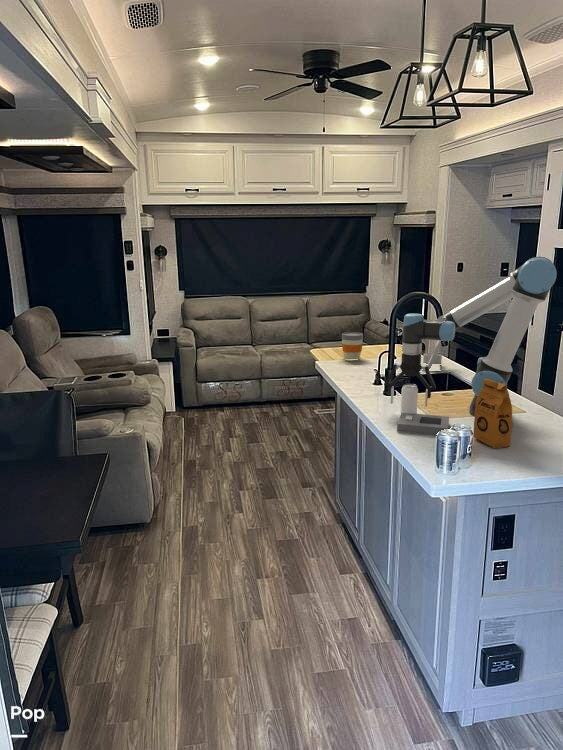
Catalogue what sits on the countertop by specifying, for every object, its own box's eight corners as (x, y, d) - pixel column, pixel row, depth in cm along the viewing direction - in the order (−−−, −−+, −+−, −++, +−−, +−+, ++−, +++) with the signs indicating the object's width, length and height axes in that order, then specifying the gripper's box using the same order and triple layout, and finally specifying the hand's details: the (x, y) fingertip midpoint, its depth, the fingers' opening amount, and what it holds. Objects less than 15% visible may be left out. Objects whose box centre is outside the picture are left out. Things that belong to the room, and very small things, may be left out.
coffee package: (490, 450, 188) (495, 388, 183) (468, 438, 200) (473, 378, 194) (515, 447, 191) (521, 385, 185) (492, 435, 202) (498, 376, 197)
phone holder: (422, 364, 312) (424, 332, 308) (441, 365, 309) (443, 333, 305) (421, 371, 296) (423, 338, 291) (441, 372, 293) (443, 338, 289)
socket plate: (448, 423, 214) (449, 415, 213) (447, 436, 201) (448, 426, 201) (401, 419, 220) (401, 410, 219) (397, 431, 207) (397, 422, 206)
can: (416, 416, 223) (418, 388, 220) (400, 416, 224) (401, 387, 221) (416, 412, 229) (417, 383, 226) (400, 411, 230) (401, 383, 227)
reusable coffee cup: (339, 357, 331) (339, 332, 328) (359, 356, 333) (360, 331, 329) (343, 361, 319) (344, 336, 315) (365, 361, 320) (365, 335, 317)
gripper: (444, 353, 220) (441, 404, 225) (381, 349, 228) (379, 398, 233) (443, 356, 213) (440, 409, 218) (378, 352, 221) (376, 404, 226)
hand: (408, 404), depth 226 cm, fingers open, 13 cm apart
